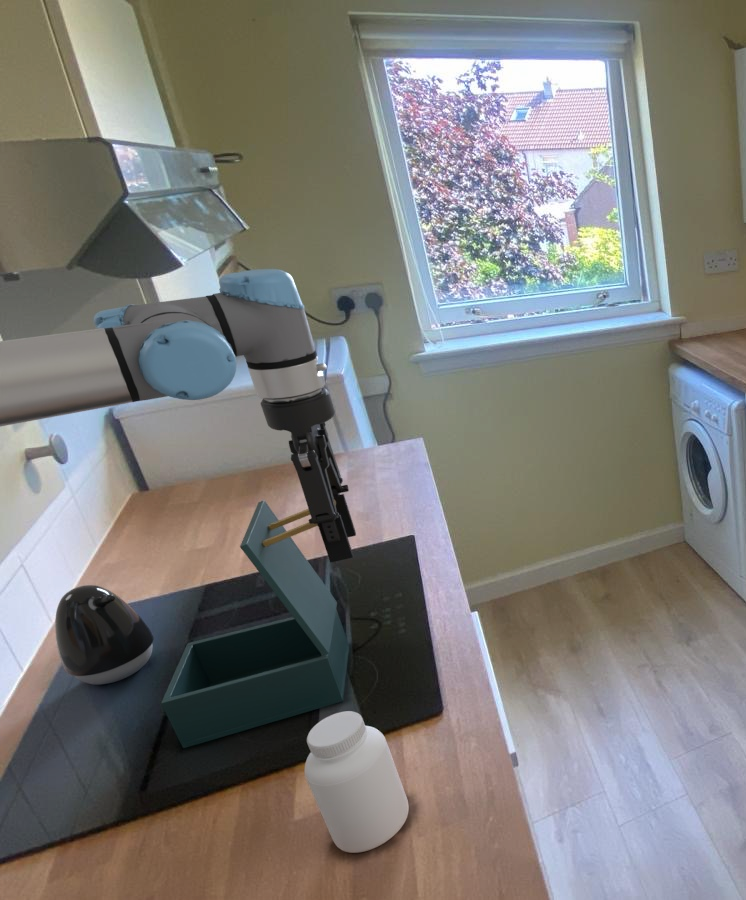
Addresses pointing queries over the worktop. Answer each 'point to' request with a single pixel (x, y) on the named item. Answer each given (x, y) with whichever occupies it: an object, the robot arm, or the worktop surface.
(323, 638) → the bin lid
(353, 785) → the pill bottle
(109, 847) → the worktop surface
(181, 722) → the bin
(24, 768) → the worktop surface
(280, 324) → the robot arm
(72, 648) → the black rounded egg shape
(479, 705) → the worktop surface
